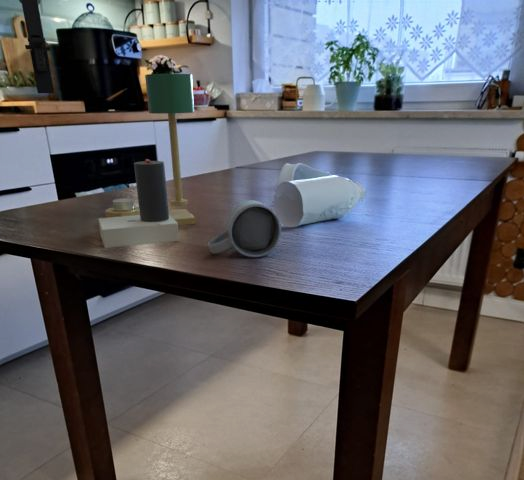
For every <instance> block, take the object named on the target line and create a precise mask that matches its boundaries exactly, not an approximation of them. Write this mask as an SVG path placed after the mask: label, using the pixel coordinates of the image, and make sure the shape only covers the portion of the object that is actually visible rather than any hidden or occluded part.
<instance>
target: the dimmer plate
mask: <svg viewBox="0 0 524 480" xmlns="http://www.w3.org/2000/svg"><path fill="white" fill-rule="evenodd" d="M177 217H181V216H173V218H177ZM173 218H172V217H171V216H170V215H169V219H168V220H165V221H159V222H145V221H141V220H140V215H135V216H123V217H110V218H106V217H99V218H97V219H98V226H99V233H100V238H101V240H102V241H101V242H102V244H103V247H104V249H112V248H120V247H133V246H141V245H143V246H144V245H152V244H162V243H172V242H179V241H180V235H179V225H178V223H177V222H176V221H175V220H174V219H173Z"/></svg>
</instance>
